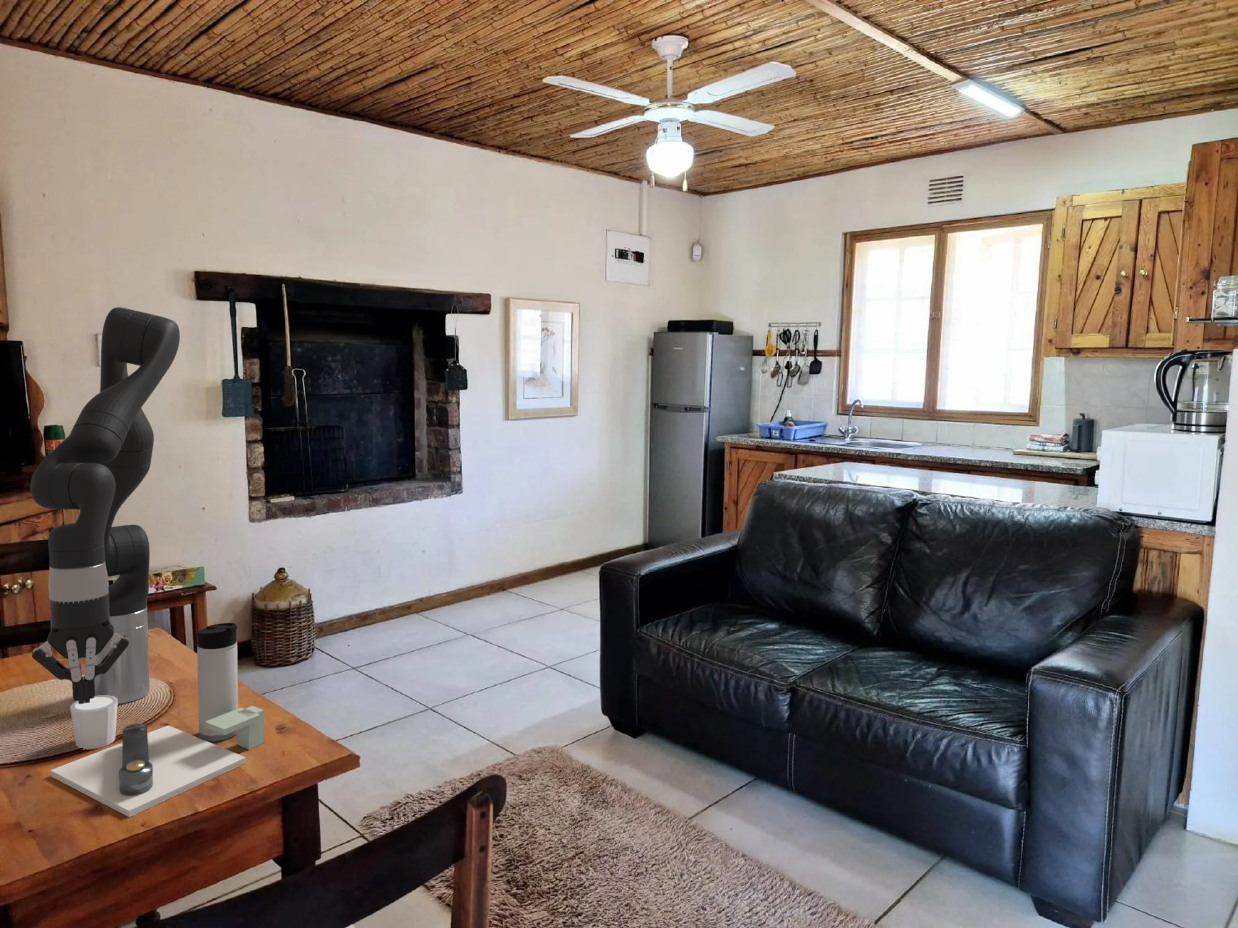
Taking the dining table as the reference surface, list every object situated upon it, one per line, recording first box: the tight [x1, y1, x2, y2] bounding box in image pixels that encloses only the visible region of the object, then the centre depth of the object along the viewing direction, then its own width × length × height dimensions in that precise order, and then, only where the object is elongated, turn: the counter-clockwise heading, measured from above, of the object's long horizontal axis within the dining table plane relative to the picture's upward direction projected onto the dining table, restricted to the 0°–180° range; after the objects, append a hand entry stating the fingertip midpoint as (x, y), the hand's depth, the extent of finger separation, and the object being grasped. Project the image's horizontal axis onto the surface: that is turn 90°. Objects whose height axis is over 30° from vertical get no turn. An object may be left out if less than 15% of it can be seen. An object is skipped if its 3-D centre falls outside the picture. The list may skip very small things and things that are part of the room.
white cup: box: [70, 695, 119, 750], centre depth 138 cm, size 7×7×7 cm
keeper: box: [205, 705, 265, 750], centre depth 137 cm, size 5×8×6 cm, turn 151°
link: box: [119, 723, 153, 795], centre depth 128 cm, size 19×4×4 cm, turn 31°
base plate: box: [50, 725, 247, 818], centre depth 130 cm, size 21×19×1 cm
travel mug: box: [196, 622, 239, 743], centre depth 142 cm, size 6×7×20 cm
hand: (84, 701), depth 125 cm, fingers closed
